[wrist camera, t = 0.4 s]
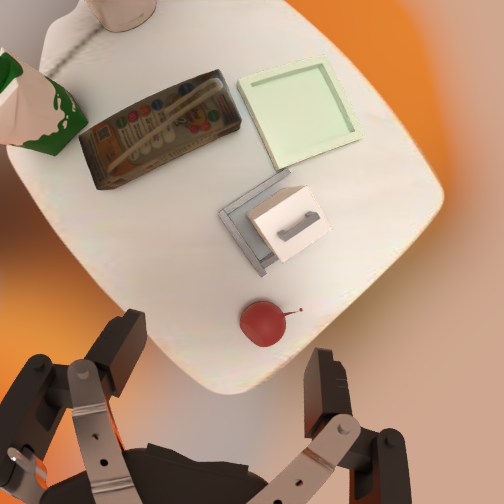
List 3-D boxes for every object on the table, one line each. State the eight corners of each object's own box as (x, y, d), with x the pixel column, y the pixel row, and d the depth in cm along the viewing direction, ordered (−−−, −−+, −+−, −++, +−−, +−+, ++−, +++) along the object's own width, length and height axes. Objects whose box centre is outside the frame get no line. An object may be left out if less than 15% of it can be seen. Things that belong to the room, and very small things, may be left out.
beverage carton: (242, 133, 36) (245, 120, 30) (112, 193, 36) (92, 193, 30) (219, 83, 35) (219, 63, 28) (93, 143, 34) (72, 135, 28)
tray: (236, 85, 35) (237, 79, 32) (320, 61, 35) (325, 54, 32) (275, 170, 37) (279, 169, 35) (357, 139, 37) (365, 137, 35)
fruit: (278, 322, 44) (314, 327, 37) (252, 347, 41) (285, 358, 34) (257, 290, 42) (291, 290, 35) (228, 315, 40) (259, 321, 33)
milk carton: (96, 122, 34) (11, 78, 14) (53, 165, 34) (-43, 154, 14) (71, 85, 32) (-6, 33, 12) (31, 126, 32) (-56, 101, 13)
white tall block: (245, 213, 38) (257, 222, 25) (284, 187, 38) (315, 183, 25) (266, 245, 39) (288, 269, 26) (304, 219, 39) (343, 231, 26)
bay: (218, 212, 38) (217, 214, 34) (285, 168, 37) (291, 165, 33) (257, 269, 40) (261, 277, 36) (320, 226, 39) (331, 229, 35)
